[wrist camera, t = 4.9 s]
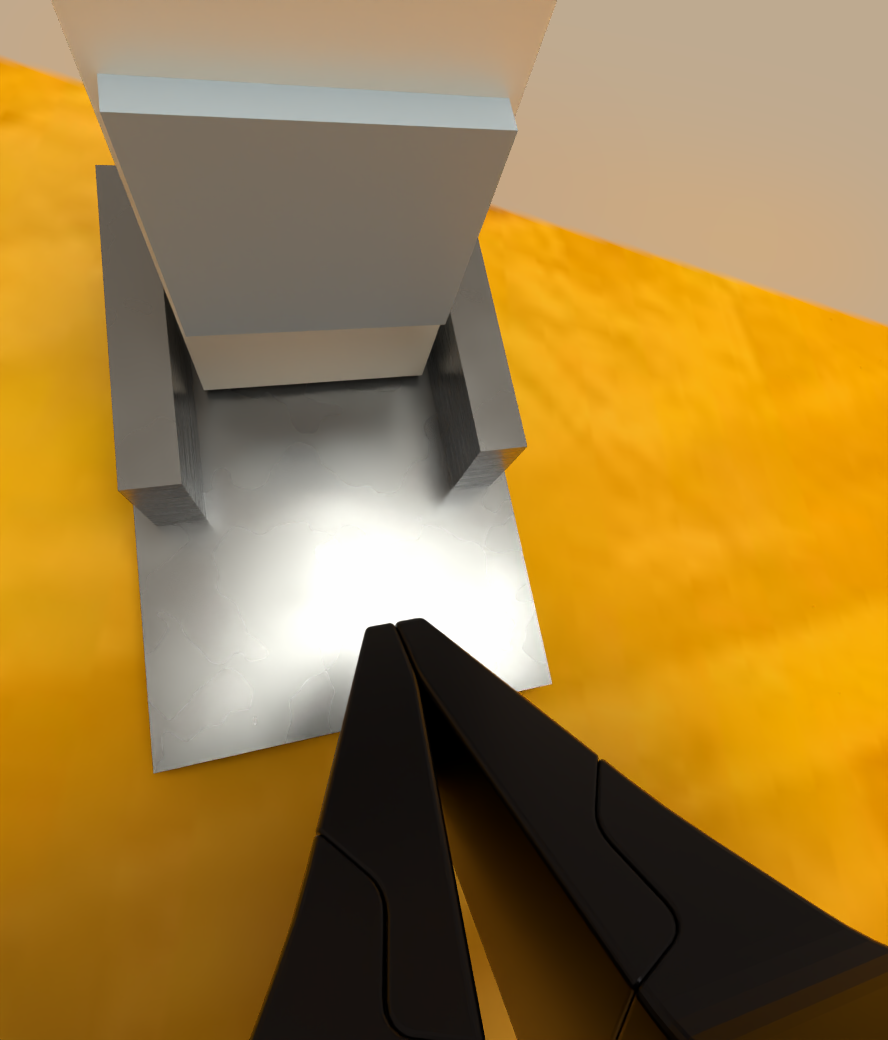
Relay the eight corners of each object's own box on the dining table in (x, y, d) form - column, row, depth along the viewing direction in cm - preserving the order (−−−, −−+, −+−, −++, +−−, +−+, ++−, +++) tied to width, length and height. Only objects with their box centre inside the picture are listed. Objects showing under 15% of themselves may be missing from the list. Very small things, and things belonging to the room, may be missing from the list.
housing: (538, 683, 16) (605, 686, 13) (164, 766, 14) (108, 801, 10) (447, 270, 19) (479, 173, 16) (125, 278, 17) (71, 164, 13)
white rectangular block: (425, 393, 17) (666, -212, 5) (205, 410, 15) (-128, -391, 4) (400, 268, 17) (560, -479, 6) (190, 273, 16) (-114, -711, 5)
